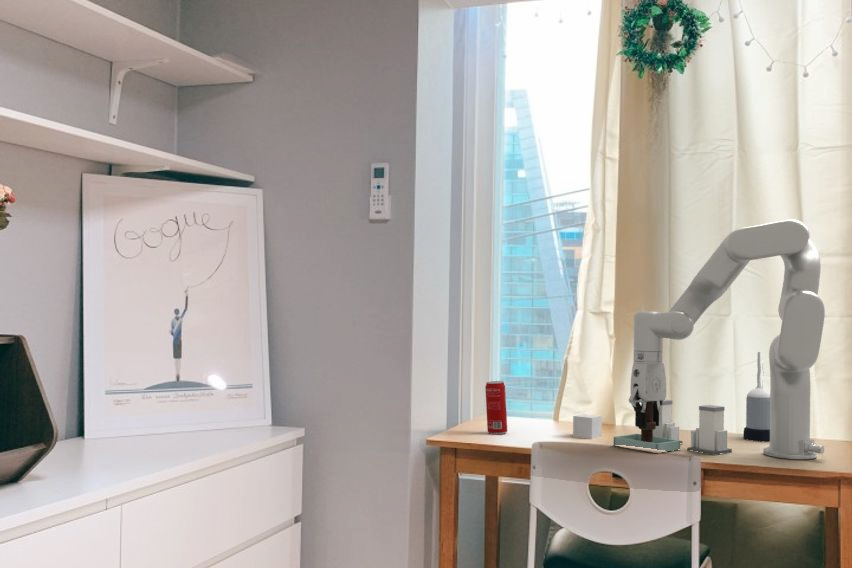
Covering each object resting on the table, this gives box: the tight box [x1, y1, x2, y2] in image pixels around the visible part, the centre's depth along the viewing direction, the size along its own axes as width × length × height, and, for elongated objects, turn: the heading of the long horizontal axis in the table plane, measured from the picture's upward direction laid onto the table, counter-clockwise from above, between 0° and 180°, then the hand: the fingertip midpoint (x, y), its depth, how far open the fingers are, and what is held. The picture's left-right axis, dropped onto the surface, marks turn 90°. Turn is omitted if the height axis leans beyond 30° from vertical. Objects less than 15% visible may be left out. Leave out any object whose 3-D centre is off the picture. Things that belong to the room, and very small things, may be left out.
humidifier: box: [742, 351, 770, 443], centre depth 250 cm, size 8×8×25 cm
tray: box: [613, 433, 681, 452], centre depth 232 cm, size 14×10×2 cm
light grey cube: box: [572, 413, 603, 440], centre depth 250 cm, size 6×6×6 cm
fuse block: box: [653, 399, 733, 456], centre depth 234 cm, size 23×8×12 cm, turn 39°
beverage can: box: [484, 380, 508, 435], centre depth 254 cm, size 6×6×15 cm
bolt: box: [638, 388, 658, 442], centre depth 232 cm, size 6×5×15 cm
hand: (647, 425), depth 232 cm, fingers closed on bolt, 4 cm apart
